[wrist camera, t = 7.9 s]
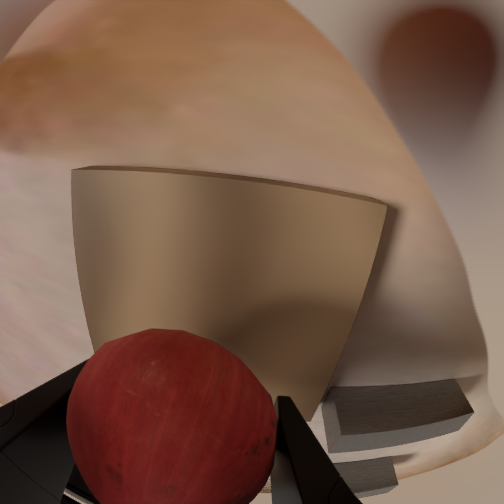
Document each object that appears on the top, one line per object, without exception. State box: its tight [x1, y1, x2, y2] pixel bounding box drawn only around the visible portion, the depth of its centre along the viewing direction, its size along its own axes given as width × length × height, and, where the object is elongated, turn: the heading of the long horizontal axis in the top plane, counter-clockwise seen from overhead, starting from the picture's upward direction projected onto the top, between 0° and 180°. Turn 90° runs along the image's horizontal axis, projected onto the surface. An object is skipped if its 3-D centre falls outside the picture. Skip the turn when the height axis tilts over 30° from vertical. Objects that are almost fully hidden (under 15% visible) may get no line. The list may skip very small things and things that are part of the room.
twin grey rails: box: [321, 379, 474, 498], centre depth 15 cm, size 10×13×4 cm
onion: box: [66, 328, 277, 504], centre depth 6 cm, size 6×6×8 cm
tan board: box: [71, 166, 388, 421], centre depth 12 cm, size 12×12×2 cm
